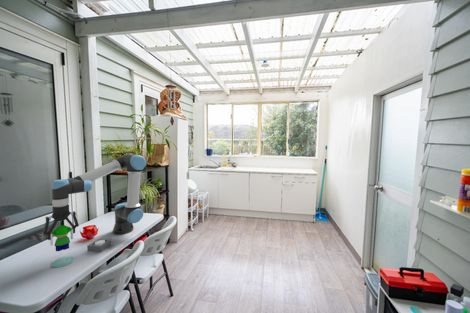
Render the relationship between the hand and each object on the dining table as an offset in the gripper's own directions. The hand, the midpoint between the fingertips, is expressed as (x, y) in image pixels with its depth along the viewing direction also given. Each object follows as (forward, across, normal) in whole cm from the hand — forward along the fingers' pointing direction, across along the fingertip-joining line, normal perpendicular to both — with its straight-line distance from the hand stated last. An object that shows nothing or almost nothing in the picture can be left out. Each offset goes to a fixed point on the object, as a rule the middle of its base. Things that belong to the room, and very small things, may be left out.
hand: (62, 241), depth 119 cm
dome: (+12, -20, -2) cm, 23 cm away
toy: (+5, 0, 0) cm, 5 cm away
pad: (+13, 0, 0) cm, 13 cm away
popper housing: (+13, -20, -2) cm, 24 cm away
